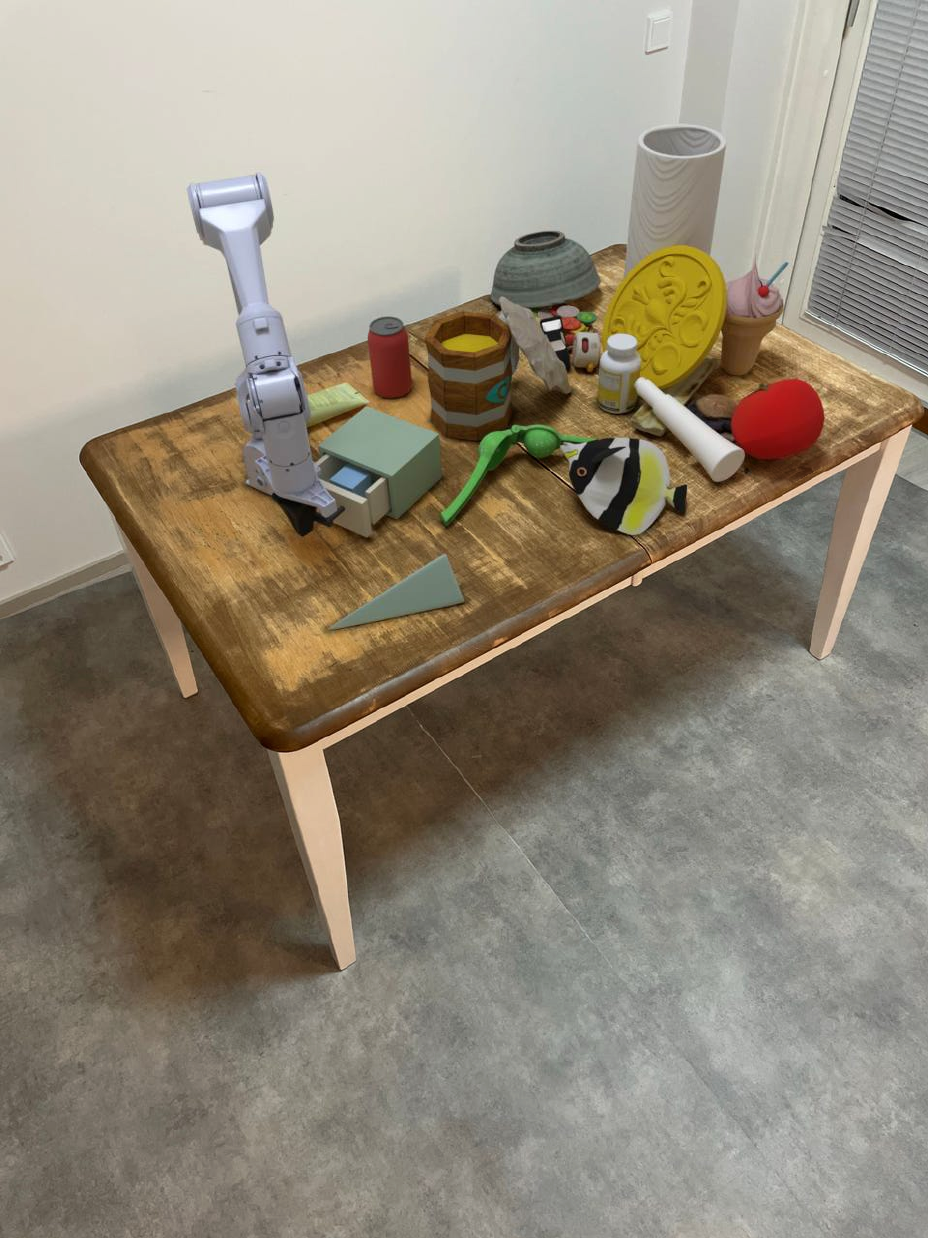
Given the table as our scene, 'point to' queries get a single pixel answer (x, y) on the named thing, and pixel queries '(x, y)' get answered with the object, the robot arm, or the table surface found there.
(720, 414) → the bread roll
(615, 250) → the table surface
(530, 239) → the bowl
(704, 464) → the cosmetic bottle
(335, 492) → the cream drawer
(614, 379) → the pill bottle
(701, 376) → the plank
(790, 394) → the tomato
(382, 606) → the thin wedge-shaped triangle plate
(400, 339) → the beer can
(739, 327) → the ice cream cone
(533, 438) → the lime squeezer
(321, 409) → the tube
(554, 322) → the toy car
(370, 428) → the drawer cabinet
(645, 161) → the vase
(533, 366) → the stone tool
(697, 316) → the decorative medallion
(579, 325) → the toy food set
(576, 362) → the roller toy
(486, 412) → the mug
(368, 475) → the pale blue cube
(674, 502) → the fish
